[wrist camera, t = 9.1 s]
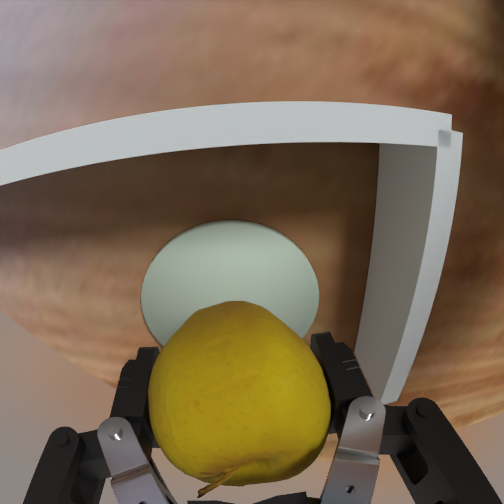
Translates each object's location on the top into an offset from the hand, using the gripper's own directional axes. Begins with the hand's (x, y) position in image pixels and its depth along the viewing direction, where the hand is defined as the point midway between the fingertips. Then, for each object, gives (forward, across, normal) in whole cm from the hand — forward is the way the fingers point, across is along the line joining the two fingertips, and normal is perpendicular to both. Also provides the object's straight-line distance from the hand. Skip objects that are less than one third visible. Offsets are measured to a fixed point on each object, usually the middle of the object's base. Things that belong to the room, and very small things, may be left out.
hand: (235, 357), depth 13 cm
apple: (+2, 0, 0) cm, 2 cm away
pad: (+4, 0, 0) cm, 4 cm away
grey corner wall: (+4, +3, -2) cm, 5 cm away
